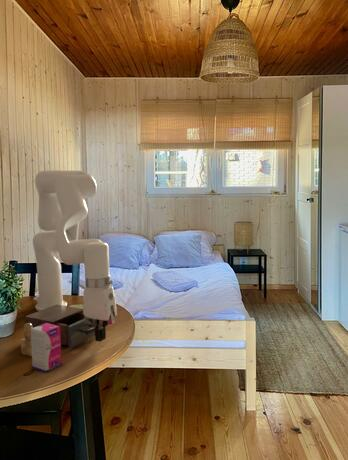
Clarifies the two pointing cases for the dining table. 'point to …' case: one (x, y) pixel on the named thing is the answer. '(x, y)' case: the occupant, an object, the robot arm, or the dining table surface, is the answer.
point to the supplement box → (46, 347)
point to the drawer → (75, 330)
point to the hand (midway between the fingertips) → (100, 339)
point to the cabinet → (51, 315)
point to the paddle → (27, 340)
